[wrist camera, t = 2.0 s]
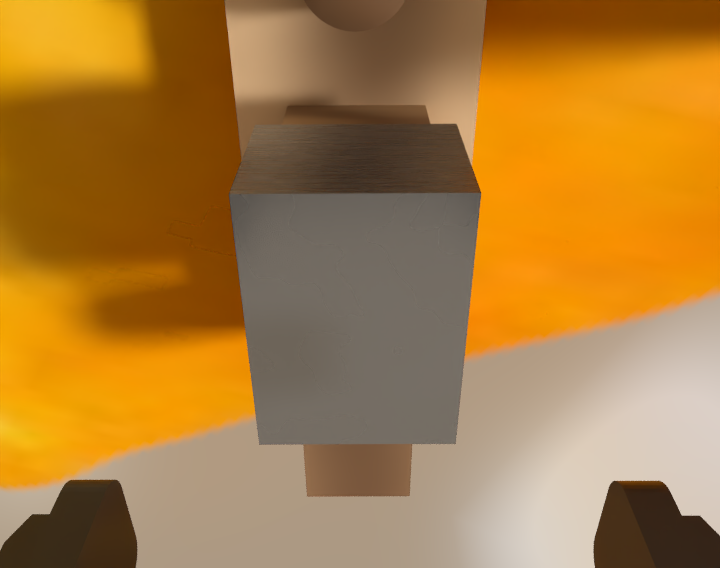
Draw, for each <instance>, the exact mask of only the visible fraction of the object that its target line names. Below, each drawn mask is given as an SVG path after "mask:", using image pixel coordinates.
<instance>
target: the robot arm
mask: <svg viewBox="0 0 720 568" xmlns="http://www.w3.org/2000/svg"><path fill="white" fill-rule="evenodd" d="M136 561H137V540H136V535H135V532H134V528H133V525H132V521H131V518H130V514H129V511H128V508H127V504H126V501H125V497H124V494H123V491H122V487H121V484H120V483H119V481H117V480H70V481H68V482H67V483H66V484H65V485H64V487H63V488H62V490H61V492H60V494H59V496H58V498H57V500H56V502H55V504H54V507H53V509H52V511H51V513H50V514H45V515H44V514H41V515H40V514H33V515H31V516H30V517H29V518H28V519H27V520H26V521H25V522H24V523H23V525H21V526H20V527H19V528H18V529H17V530H16V531H15V532H14V533H13V534H12V535H11V536H10V537H9V538H8V540H6V541H5V543H4V544H3V546H2V549H1V550H0V568H136ZM594 563H595V568H720V536H719V535H718V534H717V533H716V532H715V531H714V530H713V529H712V528H711V527H710V526H709V525H708V524H707V523H706V522H705V521H704V520H703V518H702V517H700V516H682V515H681V514H680V511H679V509H678V507H677V505H676V503H675V501H674V499H673V497H672V495H671V493H670V491H669V489H668V487H667V486H666V485H665V484H664V483H663V482H661V481H613V482H612V483H611V484H610V487H609V490H608V493H607V496H606V500H605V504H604V507H603V511H602V514H601V518H600V521H599V525H598V529H597V532H596V535H595V540H594Z"/></svg>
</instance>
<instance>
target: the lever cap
mask: <svg viewBox="0 0 720 568" xmlns="http://www.w3.org/2000/svg"><path fill="white" fill-rule="evenodd" d="M229 199H230V207H231V215H232V224H233V232H234V240H235V248H236V257H237V265H238V273H239V281H240V289H241V298H242V306H243V314H244V322H245V330H246V339H247V347H248V355H249V363H250V371H251V380H252V388H253V396H254V404H255V413H256V421H257V429H258V437H259V444H260V445H262V444H263V445H264V444H265V445H266V444H270V445H271V444H456V435H457V424H458V415H459V405H460V395H461V385H462V376H463V366H464V356H465V346H466V336H467V327H468V317H469V307H470V297H471V287H472V277H473V268H474V258H475V248H476V238H477V228H478V218H479V209H480V199H481V191H480V188H479V185H478V183H477V180H476V177H475V174H474V171H473V169H472V166H471V163H470V160H469V157H468V154H467V152H466V149H465V146H464V143H463V140H462V137H461V135H460V132H459V129H458V126H457V124H289V125H255V126H254V129H253V132H252V134H251V137H250V140H249V142H248V145H247V148H246V150H245V153H244V156H243V158H242V161H241V163H240V166H239V169H238V171H237V174H236V177H235V179H234V182H233V185H232V187H231V190H230V192H229Z"/></svg>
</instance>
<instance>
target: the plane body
mask: <svg viewBox="0 0 720 568" xmlns="http://www.w3.org/2000/svg"><path fill="white" fill-rule="evenodd" d="M224 1H225V10H226V20H227V29H228V38H229V48H230V57H231V66H232V76H233V85H234V94H235V104H236V113H237V122H238V132H239V141H240V150H241V160H242V158H243V156H244V153H245V150H246V148H247V145H248V142H249V140H250V137H251V134H252V132H253V129H254V126H255V125H289V124H457V126H458V129H459V132H460V135H461V137H462V140H463V143H464V146H465V149H466V152H467V154H468V157H469V160H470V163H471V166H472V157H473V146H474V135H475V124H476V113H477V102H478V91H479V80H480V70H481V59H482V48H483V37H484V26H485V15H486V4H487V0H224ZM303 445H304V459H305V473H306V487H307V496H409V495H410V475H411V457H412V444H303Z"/></svg>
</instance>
